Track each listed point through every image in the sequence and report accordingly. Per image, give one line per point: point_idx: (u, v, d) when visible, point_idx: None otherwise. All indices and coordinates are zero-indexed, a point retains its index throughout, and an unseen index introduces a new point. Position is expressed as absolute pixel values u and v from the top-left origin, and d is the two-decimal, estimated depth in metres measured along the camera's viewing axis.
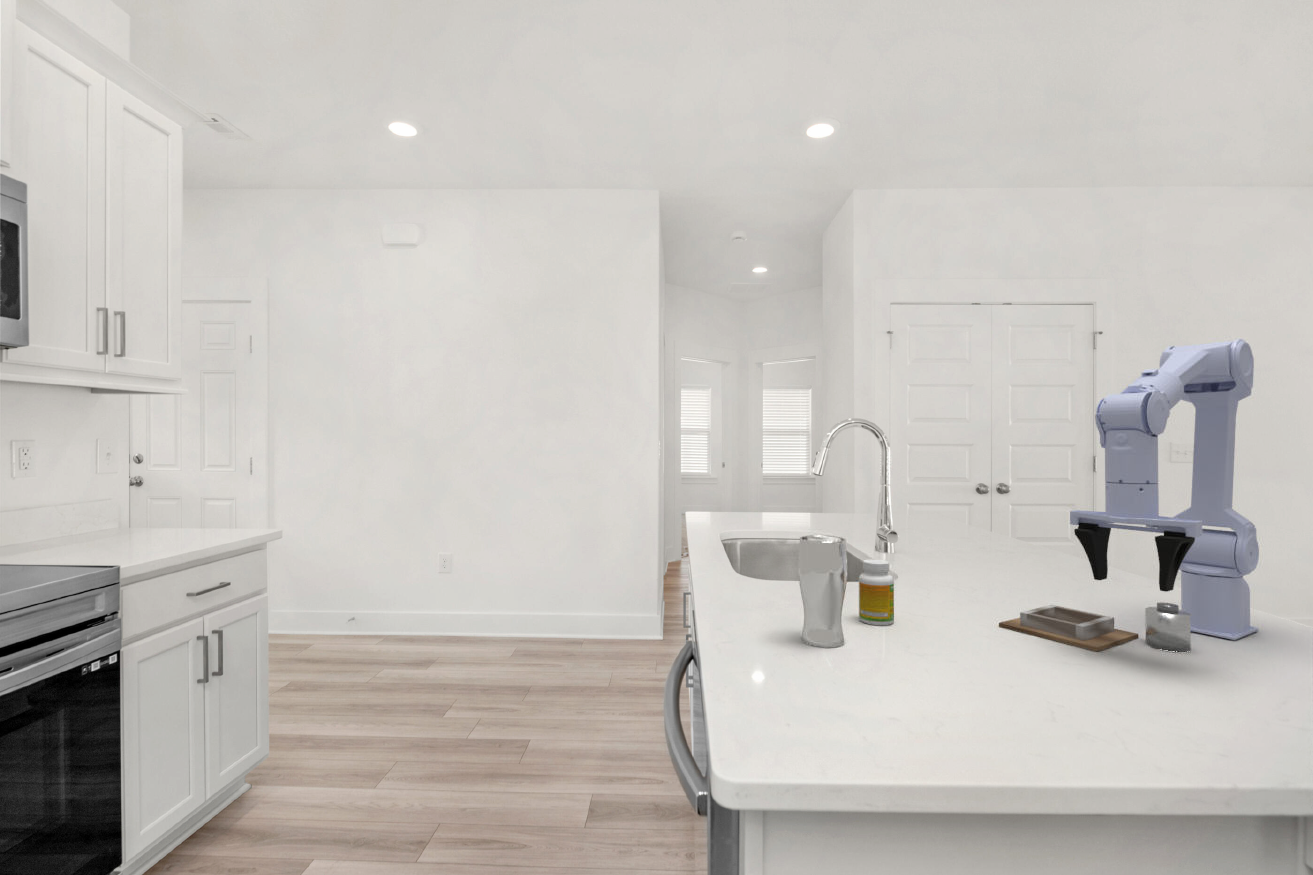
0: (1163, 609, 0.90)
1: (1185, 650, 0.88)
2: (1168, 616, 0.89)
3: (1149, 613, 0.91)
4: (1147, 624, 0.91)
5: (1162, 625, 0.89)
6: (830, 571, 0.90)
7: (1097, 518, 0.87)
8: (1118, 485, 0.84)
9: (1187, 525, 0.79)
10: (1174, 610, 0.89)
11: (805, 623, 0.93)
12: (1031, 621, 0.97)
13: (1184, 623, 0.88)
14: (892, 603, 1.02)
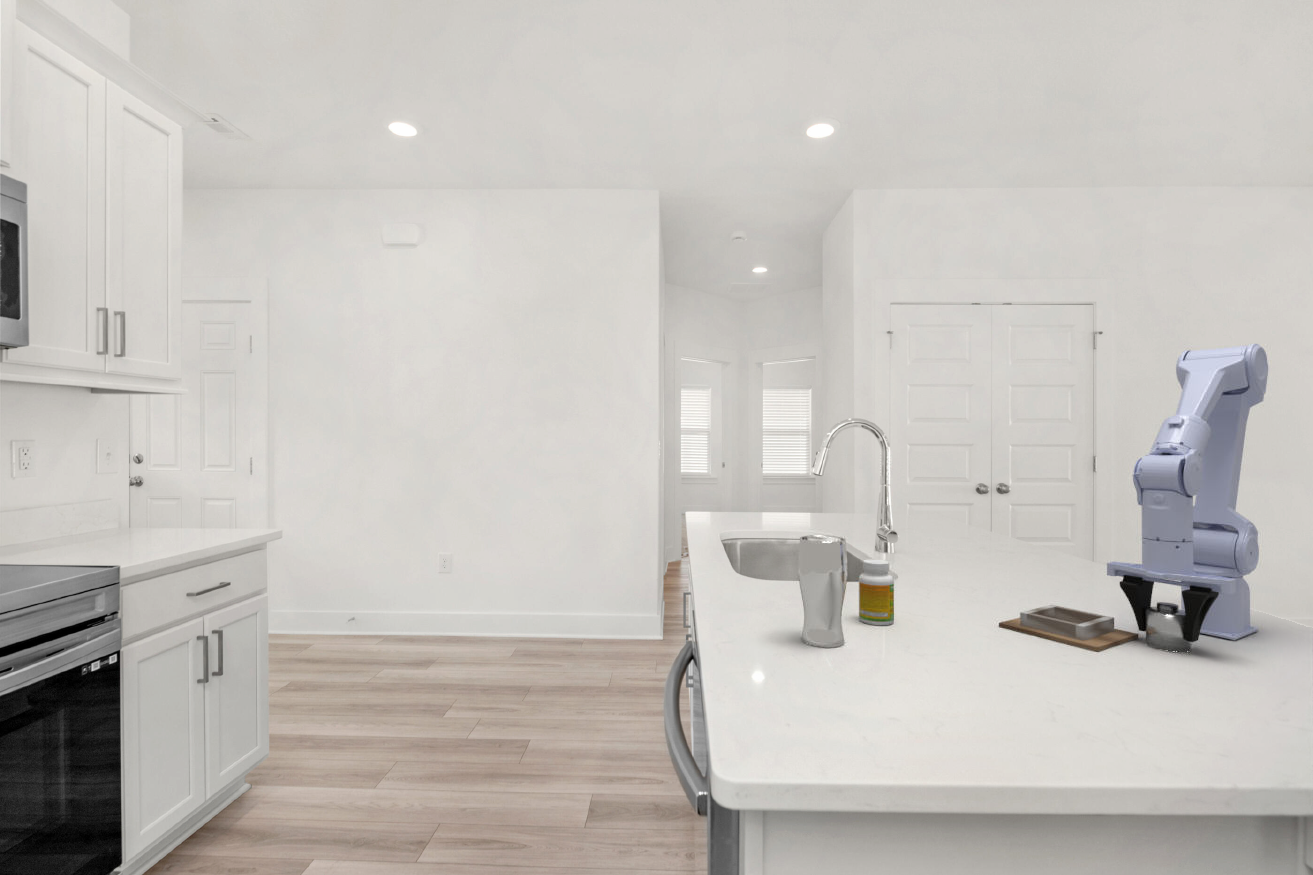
0: (1163, 609, 0.90)
1: (1185, 650, 0.88)
2: (1168, 616, 0.89)
3: (1149, 612, 0.91)
4: (1147, 624, 0.91)
5: (1162, 625, 0.89)
6: (830, 571, 0.90)
7: (1134, 571, 0.92)
8: (1155, 542, 0.89)
9: (1222, 583, 0.85)
10: (1174, 610, 0.89)
11: (805, 623, 0.93)
12: (1031, 621, 0.97)
13: (1184, 623, 0.88)
14: (892, 603, 1.02)
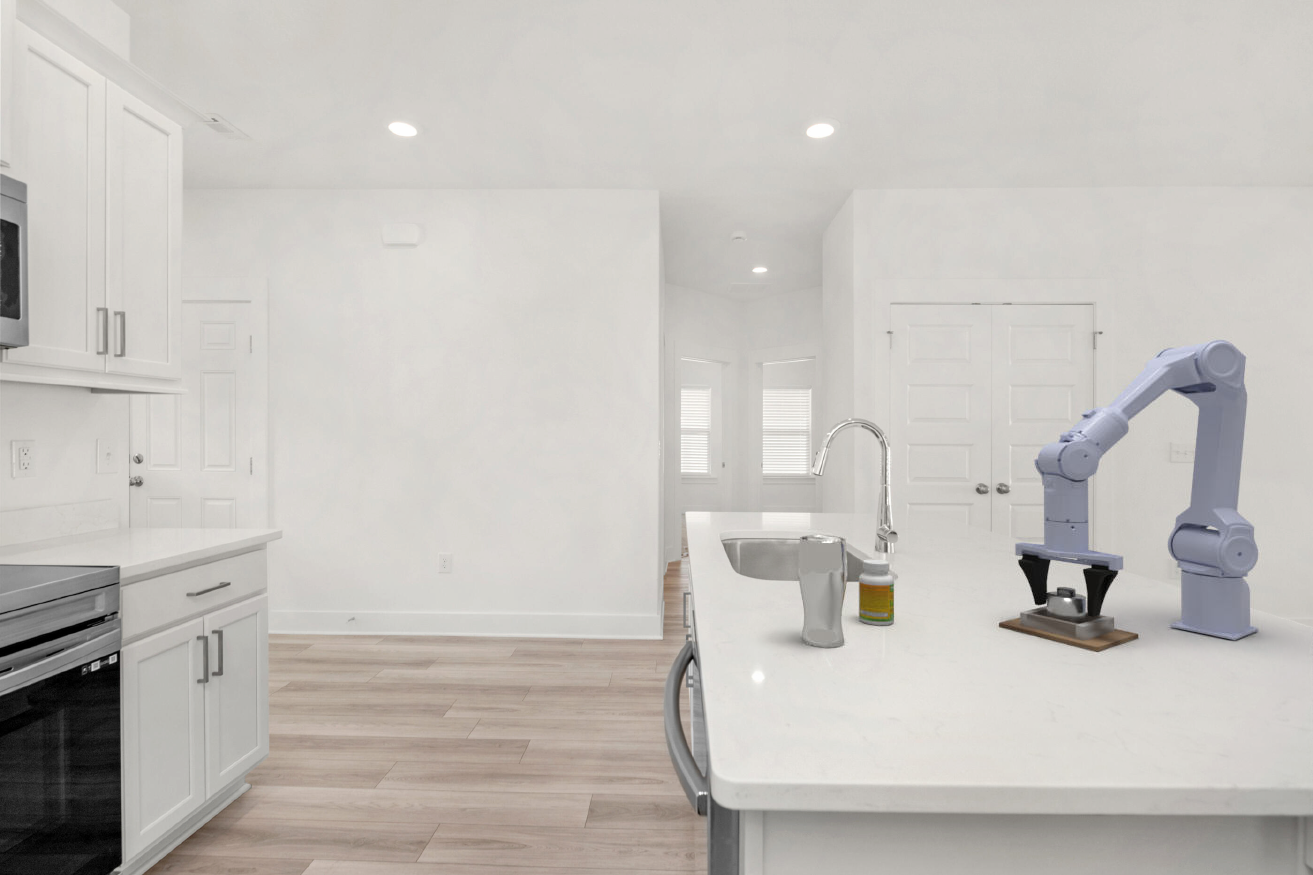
0: (1061, 593, 0.97)
1: None
2: (1063, 599, 0.96)
3: (1048, 596, 0.98)
4: (1047, 607, 0.98)
5: (1058, 607, 0.96)
6: (830, 571, 0.90)
7: (1037, 551, 0.99)
8: (1053, 523, 0.96)
9: (1110, 560, 0.91)
10: (1070, 594, 0.96)
11: (805, 623, 0.93)
12: (1031, 621, 0.97)
13: (1078, 605, 0.95)
14: (892, 603, 1.02)
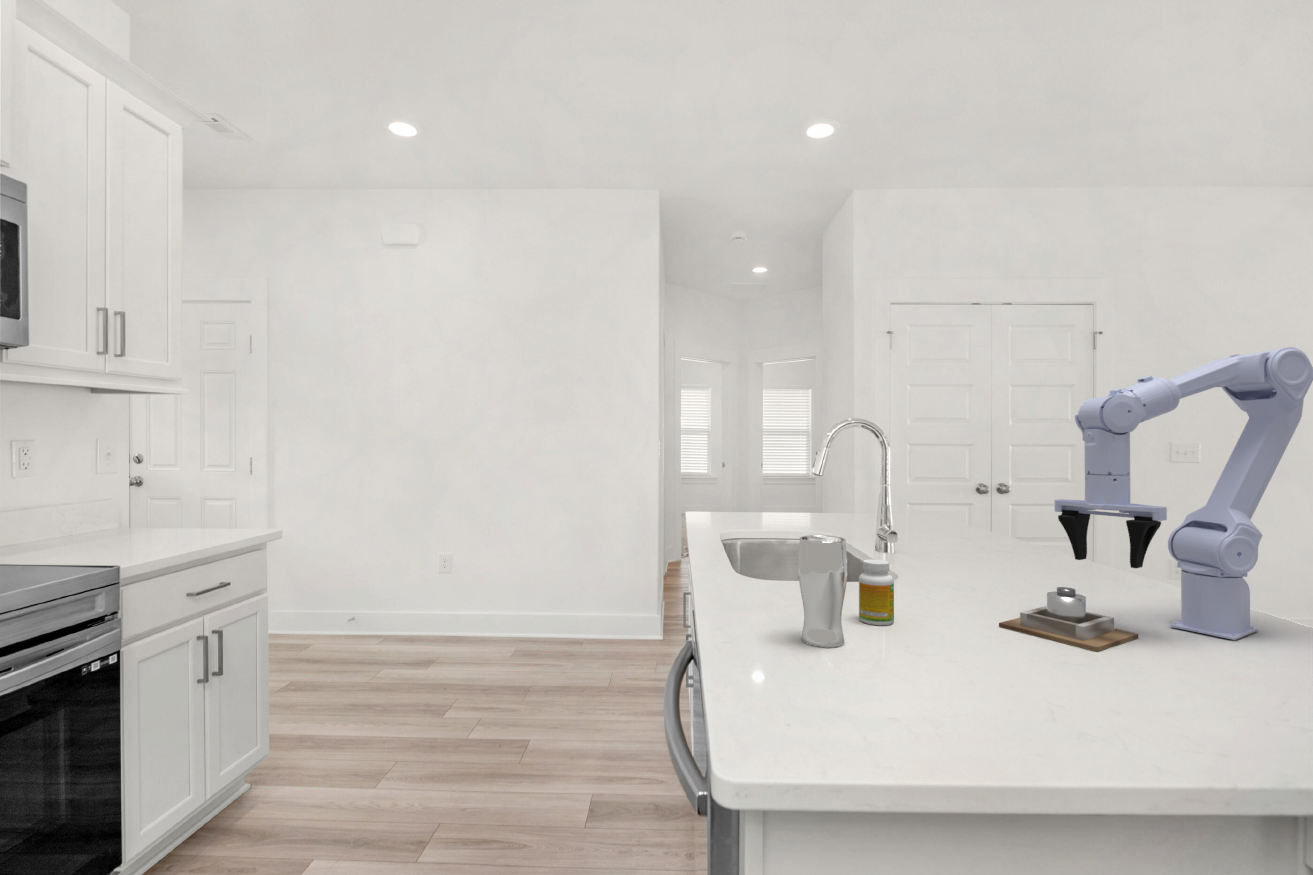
0: (1061, 593, 0.97)
1: None
2: (1063, 599, 0.96)
3: (1048, 596, 0.98)
4: (1047, 607, 0.98)
5: (1058, 607, 0.96)
6: (830, 571, 0.90)
7: (1077, 505, 1.00)
8: (1095, 476, 0.97)
9: (1153, 510, 0.92)
10: (1070, 594, 0.96)
11: (805, 623, 0.93)
12: (1031, 621, 0.97)
13: (1078, 605, 0.95)
14: (892, 603, 1.02)
